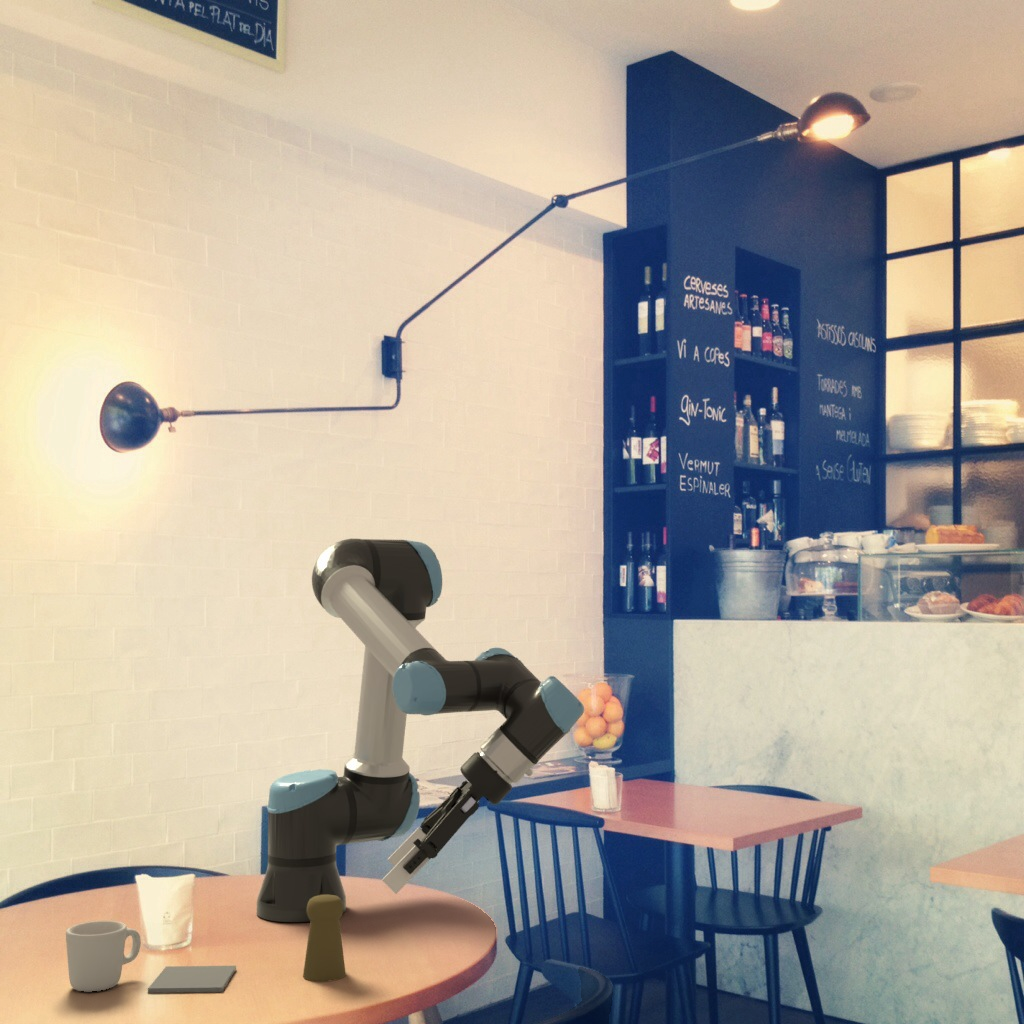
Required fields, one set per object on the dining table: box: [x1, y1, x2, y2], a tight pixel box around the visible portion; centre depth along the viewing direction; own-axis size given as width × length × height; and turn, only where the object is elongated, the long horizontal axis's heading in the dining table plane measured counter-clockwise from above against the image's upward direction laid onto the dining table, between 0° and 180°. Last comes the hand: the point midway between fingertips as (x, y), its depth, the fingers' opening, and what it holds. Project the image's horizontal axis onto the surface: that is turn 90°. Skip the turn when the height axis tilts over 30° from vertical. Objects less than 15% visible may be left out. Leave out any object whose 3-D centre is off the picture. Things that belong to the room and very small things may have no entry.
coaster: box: [147, 965, 237, 994], centre depth 168 cm, size 10×10×1 cm
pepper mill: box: [302, 895, 347, 983], centre depth 171 cm, size 6×6×11 cm
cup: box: [65, 920, 141, 993], centre depth 167 cm, size 11×8×8 cm
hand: (391, 876), depth 172 cm, fingers open, 13 cm apart
